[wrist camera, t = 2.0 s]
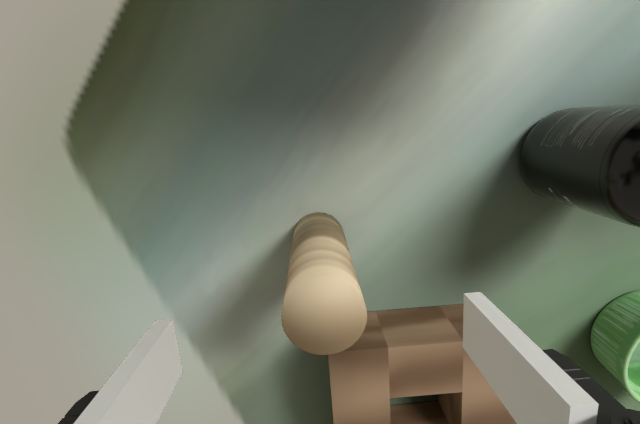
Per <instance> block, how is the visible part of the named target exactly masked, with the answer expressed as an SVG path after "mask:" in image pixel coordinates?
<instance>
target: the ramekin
mask: <svg viewBox="0 0 640 424" xmlns="http://www.w3.org/2000/svg"><path fill="white" fill-rule="evenodd" d="M590 340H591V347H592V350H593V353H594V355H595V357H596V358H597V359H598V360H599V362H600V363H601V364H602V365H603V366H604V367H605V368H606V369H607V370H608V371H609V372H610V373H611V374H612V375H614V376H615V377H616V378H617V379H618V380H619V381H620V382H621V384H622V385H623V387H624V388H625V390H626V391H627V392H628V393H629V394H630V395H631V396H632V397H633V398H634V399H635V400H636V401H638V402H639V403H640V291H635V292H631V293H628V294H625V295H623V296H621V297H618V298H617V299H615V300H613V301H612V302H611V303H609V304H608V305H607V306H606V307H605V308H604V309H603V310H602V311H601V312H600V314H599V315H598V317H597V318H596V320H595V322H594V324H593V327H592V330H591V336H590Z"/></svg>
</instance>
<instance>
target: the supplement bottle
mask: <svg viewBox="0 0 640 424" xmlns="http://www.w3.org/2000/svg"><path fill="white" fill-rule="evenodd" d="M520 169H521V173H522V176H523V178H524V180H525V182H526V183H527V185H528V186H529V187H530V188H531V189H532V190H533V191H534V192H536V193H537V194H539V195H541V196H543V197H546V198H549V199H551V200H554V201H557V202H560V203H564V204H567V205H570V206H573V207H576V208H579V209H582V210H585V211H589V212H592V213H595V214H598V215H601V216H604V217H607V218H610V219H614V220H617V221H620V222H623V223H626V224H629V225H633V226H637V227H640V105H628V106H606V107H585V108H570V109H564V110H560V111H557V112H554V113H552V114H550V115H548V116H546V117H545V118H543V119H542V120H541V121H540V122H538V123H537V124H536V125H535V126H534V127H533V129H532V130H531V131H530V132H529V134H528V135H527V137H526V139H525V141H524V143H523V146H522V149H521V154H520Z"/></svg>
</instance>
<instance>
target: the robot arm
mask: <svg viewBox="0 0 640 424" xmlns="http://www.w3.org/2000/svg"><path fill="white" fill-rule="evenodd" d="M463 348H464V350H465V351H466V352H467V354H468V355H469V357H470V358H471V359H472V361H473V362H474V364H475V365H476V367H477V368H478V369H479V371H480V372H481V374H482V375H483V376H484V378H485V379H486V381H487V382H488V383H489V385H490V386H491V388H492V389H493V391H494V392H495V393H496V395H497V396H498V398H499V399H500V400H501V402H502V403H503V405H504V406H505V408H506V409H507V410H508V412H509V413H510V415H511V416H512V417H513V419H514V420H515V422H516V423H517V424H640V411H635V410H631V409H626V408H625V407H623V406H622V405H621V404H620V403H619V402H618V401H617V400H616V399H614V398H613V397H612V396H611V395H610V394H609V393H608V392H606V391H605V390H604V389H603V388H602V387H601V386H600V385H599V384H597V383H596V382H595V381H594V380H593V379H590V377H589V376H588V375H587V374H586V373H585V372H584V371H583V370H580V368H579V367H578V366H577V365H576V364H575V363H574V362H573V361H571V360H570V359H569V358H568V357H566V356H564V355H562V354H561V353H559V352H557V351H555V350H553V349H548V350H541V349H540V348H539V347H538V346H537V345H536V344H535V343H534V342H533V341H532V340H531V339H530V338H529V337H528V336H526V335H525V334H524V333H523V332H522V331H521V330H520V329H519V328H518V327H517V326H516V325H515V324H514V323H513V322H512V321H511V320H510V319H509V318H508V317H506V316H505V315H504V314H503V313H502V312H501V311H500V310H499V309H498V308H497V307H496V306H495V305H494V304H493V303H492V302H491V301H490V300H489V299H488V298H486V297H485V296H484V295H483V294H482V293H481V292H474V293H464V308H463ZM182 373H183V369H182V364H181V359H180V354H179V349H178V344H177V338H176V334H175V328H174V323H173V319H164V320H155V321H154V323H153V324H152V325H151V327H150V328H149V329H148V330H147V331H146V333H145V334H144V335H143V337H142V338H141V339H140V340H139V342H138V343H137V344H136V345H135V347H134V348H133V349H132V350H131V352H130V353H129V354H128V355H127V357H126V358H125V359H124V361H123V362H122V363H121V365H120V366H119V367H118V368H117V369H116V371H115V372H114V373H113V374H112V376H111V377H110V378H109V379H108V381H107V382H106V383H105V385H104V386H103V387H102V388H101V390H100V391H91V392H89V393H88V394H87V395H85V396H84V397H83V398H81V399H80V400H79V401H78V402H76V403H75V404H74V405H73V407H72V408H71V409H70V410H69V411H68V413H67V414H66V415H65V418H63V419H62V420H61V421H60V422H59V423H58V424H157V422H158V420H159V418H160V416H161V414H162V412H163V410H164V408H165V406H166V404H167V402H168V400H169V398H170V396H171V395H172V392H173V391H174V389H175V387H176V385H177V383H178V381H179V379H180V377H181V375H182Z"/></svg>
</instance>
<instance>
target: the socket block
mask: <svg viewBox="0 0 640 424" xmlns="http://www.w3.org/2000/svg"><path fill="white" fill-rule="evenodd" d="M463 308H464V304H455V305H443V306H431V307H419V308H407V309H395V310H383V311H371V312H367V322H366V326H365V329H364V331H363V333H362V335H361V336H360V338H359V339H358V340H357V341H356V342H355V343H354V344H353V345H352V346H350V347H349V348H347V349H346V350H344V351H341V352H339V353H335V354H330V355H328V362H329V374H330V386H331V398H332V411H333V423H334V424H517V423H516V422H515V420H514V419H513V417H512V416H511V415H510V413H509V412H508V410H507V409H506V408H505V406H504V405H503V403H502V402H501V400H500V399H499V398H498V396H497V395H496V393H495V392H494V391H493V389H492V388H491V386H490V385H489V383H488V382H487V381H486V379H485V378H484V376H483V375H482V374H481V372H480V371H479V369H478V368H477V367H476V365H475V364H474V362H473V361H472V359H471V358H470V357H469V355H468V354H467V352H466V351H465V350H464V348H463ZM435 394H438V401H433V402H421V403H409V404H397V405H390V398H399V397H411V396H423V395H435Z"/></svg>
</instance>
